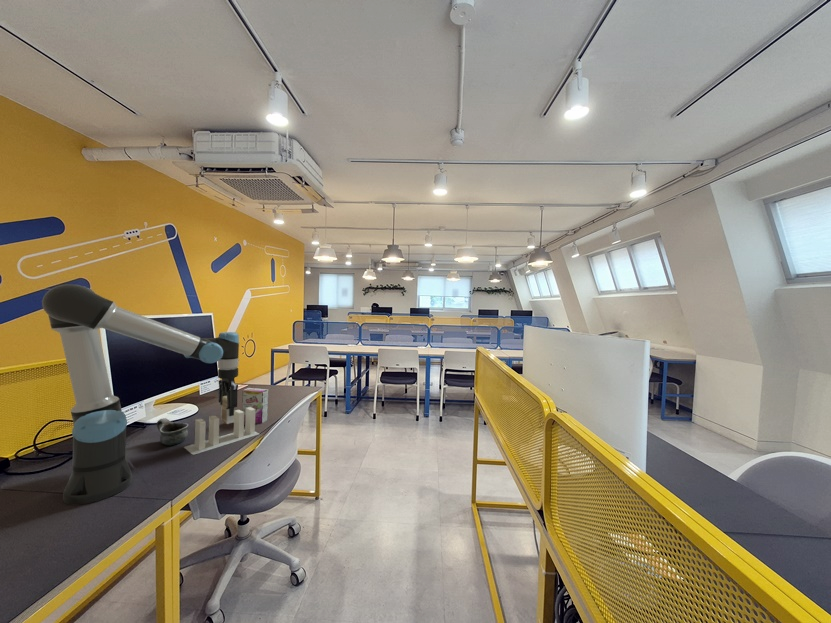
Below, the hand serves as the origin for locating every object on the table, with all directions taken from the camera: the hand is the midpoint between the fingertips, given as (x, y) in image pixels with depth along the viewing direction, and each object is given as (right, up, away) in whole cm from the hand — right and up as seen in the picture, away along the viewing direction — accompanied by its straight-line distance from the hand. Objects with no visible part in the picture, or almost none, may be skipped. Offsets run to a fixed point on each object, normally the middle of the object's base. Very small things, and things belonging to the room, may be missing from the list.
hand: (227, 421), depth 134 cm
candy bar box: (0, -8, +22) cm, 23 cm away
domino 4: (+5, -8, +8) cm, 13 cm away
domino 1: (-6, -8, -8) cm, 13 cm away
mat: (-1, -8, -1) cm, 8 cm away
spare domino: (0, 0, 0) cm, 0 cm away
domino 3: (+2, -8, +4) cm, 9 cm away
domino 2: (-3, -8, -4) cm, 10 cm away
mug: (-21, -8, -5) cm, 23 cm away
